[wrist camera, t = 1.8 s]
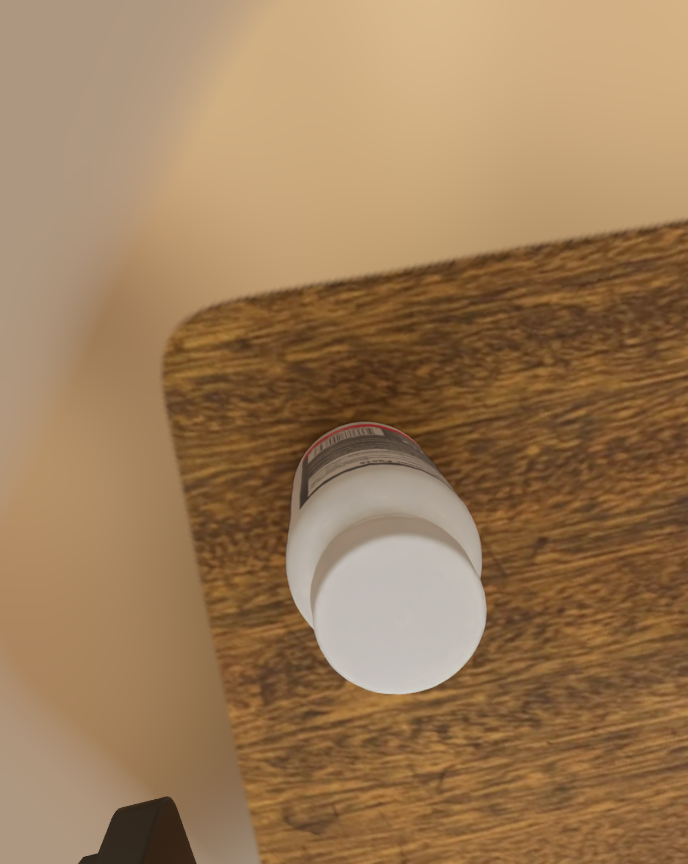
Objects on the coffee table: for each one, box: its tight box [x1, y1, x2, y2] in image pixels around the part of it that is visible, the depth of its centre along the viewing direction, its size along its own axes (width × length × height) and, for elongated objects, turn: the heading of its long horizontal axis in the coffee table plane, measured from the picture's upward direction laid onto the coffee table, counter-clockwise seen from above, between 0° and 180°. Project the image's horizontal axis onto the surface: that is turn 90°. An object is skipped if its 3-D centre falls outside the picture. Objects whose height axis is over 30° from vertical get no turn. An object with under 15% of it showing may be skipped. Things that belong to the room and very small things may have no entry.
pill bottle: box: [286, 422, 486, 694], centre depth 19 cm, size 5×5×10 cm
